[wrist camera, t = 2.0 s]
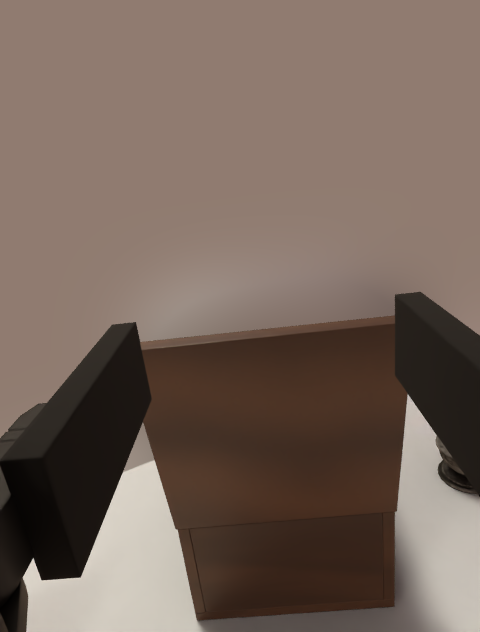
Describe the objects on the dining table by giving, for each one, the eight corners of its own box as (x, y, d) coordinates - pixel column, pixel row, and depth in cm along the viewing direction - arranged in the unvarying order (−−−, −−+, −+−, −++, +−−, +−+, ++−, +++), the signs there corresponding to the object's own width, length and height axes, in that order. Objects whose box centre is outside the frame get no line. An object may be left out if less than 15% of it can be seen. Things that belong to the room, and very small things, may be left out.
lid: (125, 343, 23) (121, 351, 22) (408, 313, 22) (414, 321, 21) (177, 519, 30) (175, 529, 29) (393, 501, 29) (396, 511, 28)
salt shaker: (435, 451, 47) (439, 350, 43) (498, 461, 44) (508, 354, 40) (433, 488, 42) (437, 377, 38) (504, 502, 39) (516, 385, 35)
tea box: (210, 490, 45) (198, 418, 42) (351, 478, 44) (348, 404, 41) (196, 621, 32) (177, 529, 29) (394, 607, 32) (394, 511, 29)
